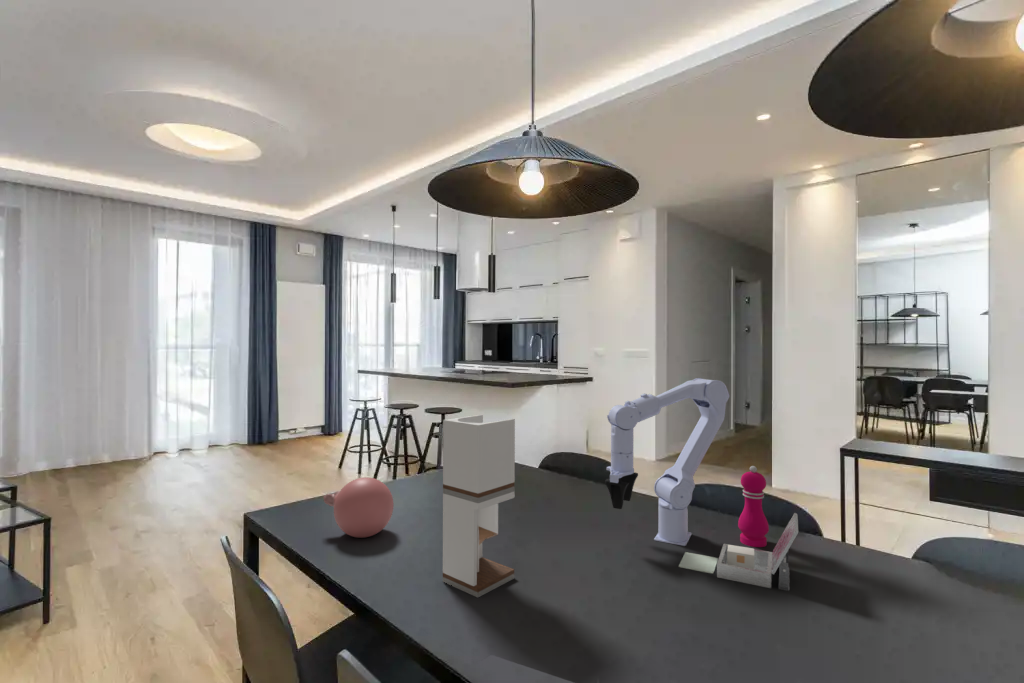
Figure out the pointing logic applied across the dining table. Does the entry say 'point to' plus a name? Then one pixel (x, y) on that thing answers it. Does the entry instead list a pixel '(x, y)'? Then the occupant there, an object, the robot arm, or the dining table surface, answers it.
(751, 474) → the pepper mill
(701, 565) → the pad
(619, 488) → the robot arm
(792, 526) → the lid
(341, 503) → the round balloon
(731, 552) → the block
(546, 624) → the dining table surface
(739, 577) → the case
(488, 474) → the display case
